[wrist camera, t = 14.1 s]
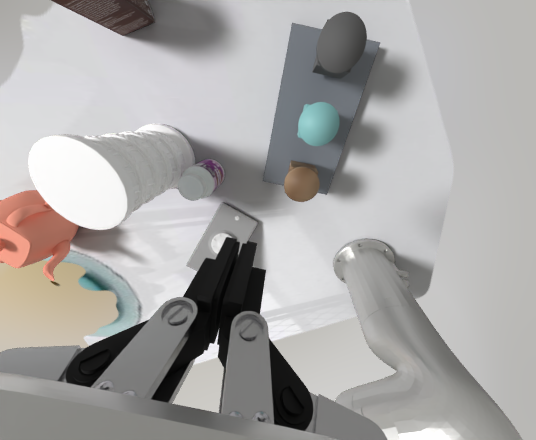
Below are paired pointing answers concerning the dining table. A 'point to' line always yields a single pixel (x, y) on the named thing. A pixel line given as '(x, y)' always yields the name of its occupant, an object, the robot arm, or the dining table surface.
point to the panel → (309, 92)
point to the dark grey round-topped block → (340, 45)
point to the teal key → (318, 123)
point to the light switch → (222, 234)
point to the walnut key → (301, 181)
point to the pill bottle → (201, 179)
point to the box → (113, 13)
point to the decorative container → (108, 172)
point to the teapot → (33, 232)
